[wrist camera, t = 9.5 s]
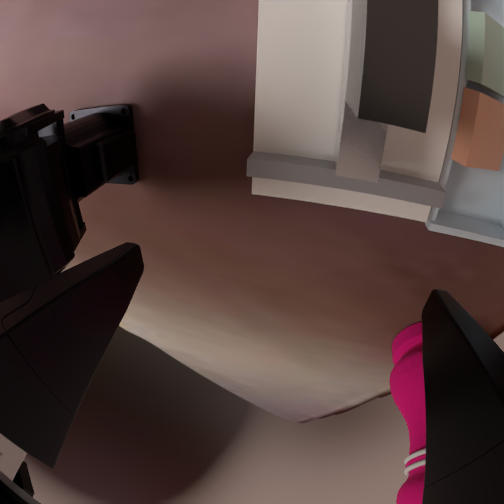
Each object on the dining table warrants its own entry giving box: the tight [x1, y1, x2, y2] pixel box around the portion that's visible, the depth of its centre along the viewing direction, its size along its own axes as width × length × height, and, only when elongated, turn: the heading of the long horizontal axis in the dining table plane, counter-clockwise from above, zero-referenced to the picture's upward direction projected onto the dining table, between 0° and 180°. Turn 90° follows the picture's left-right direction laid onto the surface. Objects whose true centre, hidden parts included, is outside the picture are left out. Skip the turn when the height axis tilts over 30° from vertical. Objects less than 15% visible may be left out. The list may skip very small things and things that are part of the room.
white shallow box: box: [247, 0, 462, 222], centre depth 13 cm, size 11×18×4 cm, turn 178°
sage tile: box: [465, 11, 504, 98], centre depth 10 cm, size 4×4×1 cm
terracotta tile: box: [451, 87, 504, 171], centre depth 13 cm, size 4×4×1 cm
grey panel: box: [334, 0, 438, 183], centre depth 9 cm, size 2×12×8 cm, turn 178°
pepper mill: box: [390, 322, 426, 504], centre depth 18 cm, size 7×7×20 cm
